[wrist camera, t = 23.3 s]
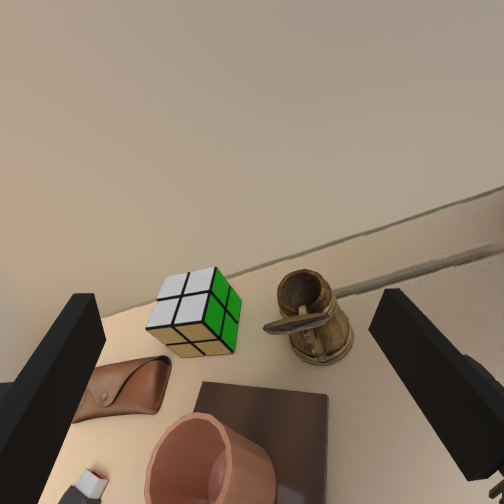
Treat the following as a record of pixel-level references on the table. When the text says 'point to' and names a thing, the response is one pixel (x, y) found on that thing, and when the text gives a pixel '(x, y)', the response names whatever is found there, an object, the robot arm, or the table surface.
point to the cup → (208, 465)
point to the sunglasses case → (125, 388)
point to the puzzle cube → (196, 314)
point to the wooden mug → (312, 318)
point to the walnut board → (278, 433)
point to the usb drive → (85, 489)
